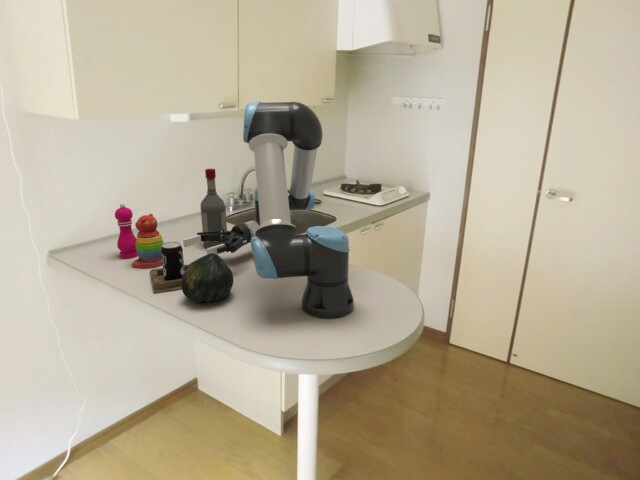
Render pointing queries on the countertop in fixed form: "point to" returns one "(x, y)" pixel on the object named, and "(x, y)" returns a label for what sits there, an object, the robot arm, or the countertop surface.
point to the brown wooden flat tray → (164, 281)
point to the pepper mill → (125, 233)
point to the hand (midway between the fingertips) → (195, 248)
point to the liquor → (212, 210)
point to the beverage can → (172, 261)
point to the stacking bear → (148, 243)
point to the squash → (207, 279)
